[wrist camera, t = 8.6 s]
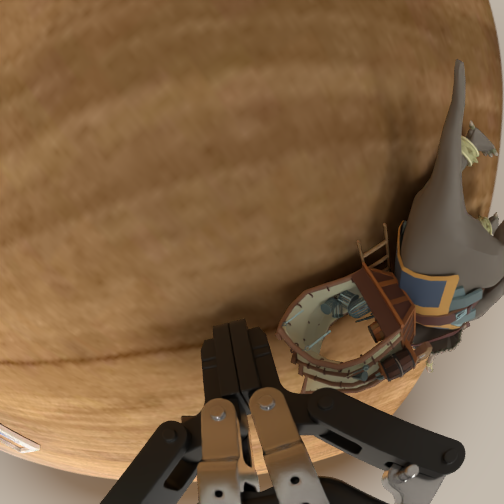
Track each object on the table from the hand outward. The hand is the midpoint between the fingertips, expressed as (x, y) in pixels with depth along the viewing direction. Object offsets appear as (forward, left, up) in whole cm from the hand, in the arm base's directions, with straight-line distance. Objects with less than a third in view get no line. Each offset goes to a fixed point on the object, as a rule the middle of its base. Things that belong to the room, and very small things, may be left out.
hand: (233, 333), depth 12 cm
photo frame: (+44, -32, -1) cm, 55 cm away
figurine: (-4, +8, -2) cm, 9 cm away
